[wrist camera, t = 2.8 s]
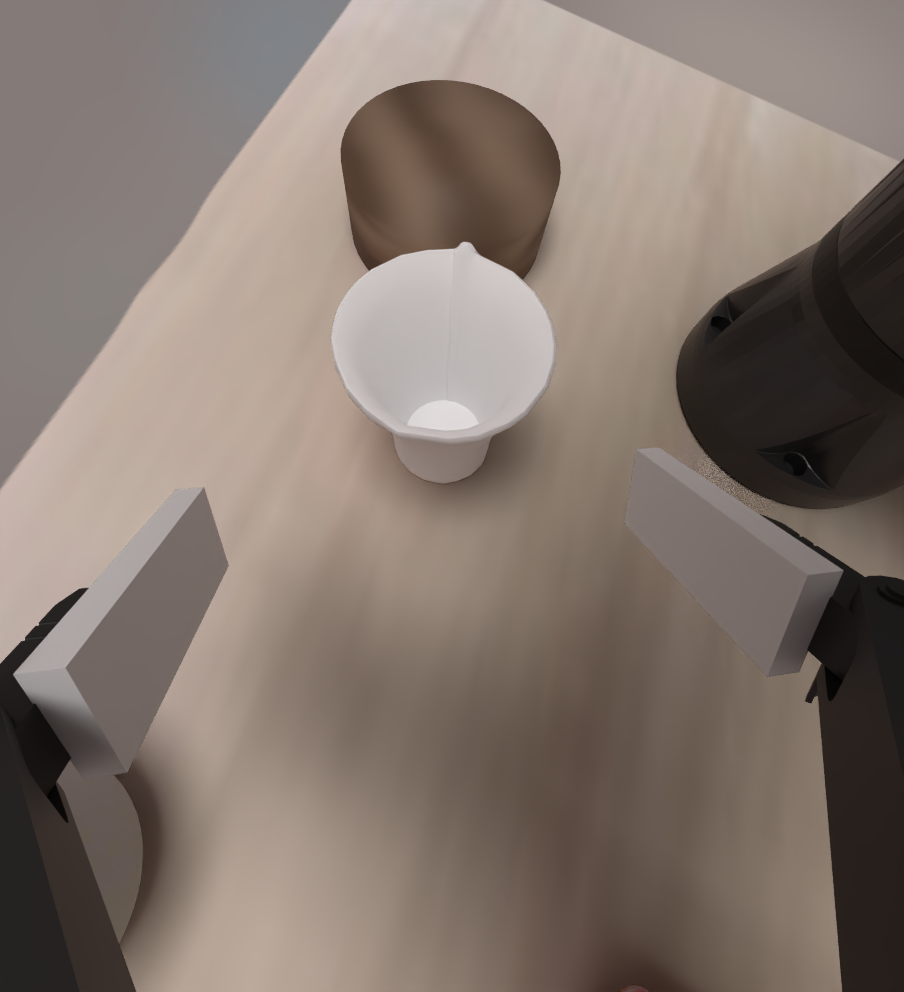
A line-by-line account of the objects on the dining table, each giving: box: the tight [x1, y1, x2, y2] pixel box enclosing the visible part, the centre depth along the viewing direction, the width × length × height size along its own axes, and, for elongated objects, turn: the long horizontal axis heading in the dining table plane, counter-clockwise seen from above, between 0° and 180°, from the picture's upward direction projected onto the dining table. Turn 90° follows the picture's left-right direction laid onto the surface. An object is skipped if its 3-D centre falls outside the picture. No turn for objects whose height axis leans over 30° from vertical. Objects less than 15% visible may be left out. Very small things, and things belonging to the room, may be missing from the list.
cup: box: [331, 242, 557, 484], centre depth 22 cm, size 9×9×10 cm
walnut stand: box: [341, 80, 561, 279], centre depth 30 cm, size 13×13×5 cm
